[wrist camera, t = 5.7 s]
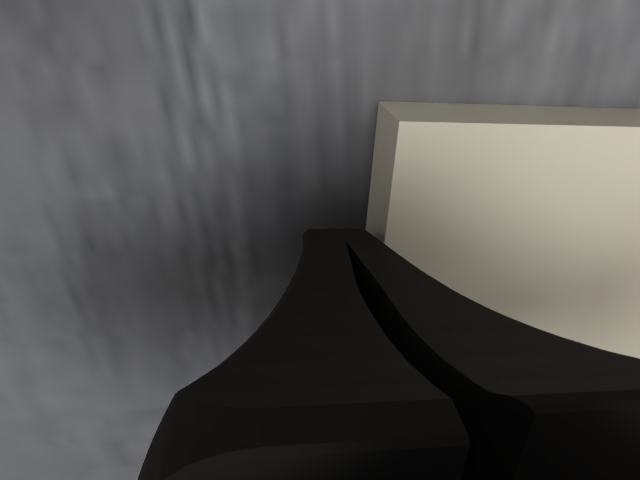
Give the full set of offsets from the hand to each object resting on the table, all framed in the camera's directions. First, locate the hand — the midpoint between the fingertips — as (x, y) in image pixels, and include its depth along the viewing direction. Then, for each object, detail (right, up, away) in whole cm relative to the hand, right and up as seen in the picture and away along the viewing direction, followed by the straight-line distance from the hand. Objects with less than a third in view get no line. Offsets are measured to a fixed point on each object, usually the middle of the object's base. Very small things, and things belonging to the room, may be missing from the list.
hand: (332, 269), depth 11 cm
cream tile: (+7, +1, +2) cm, 7 cm away
